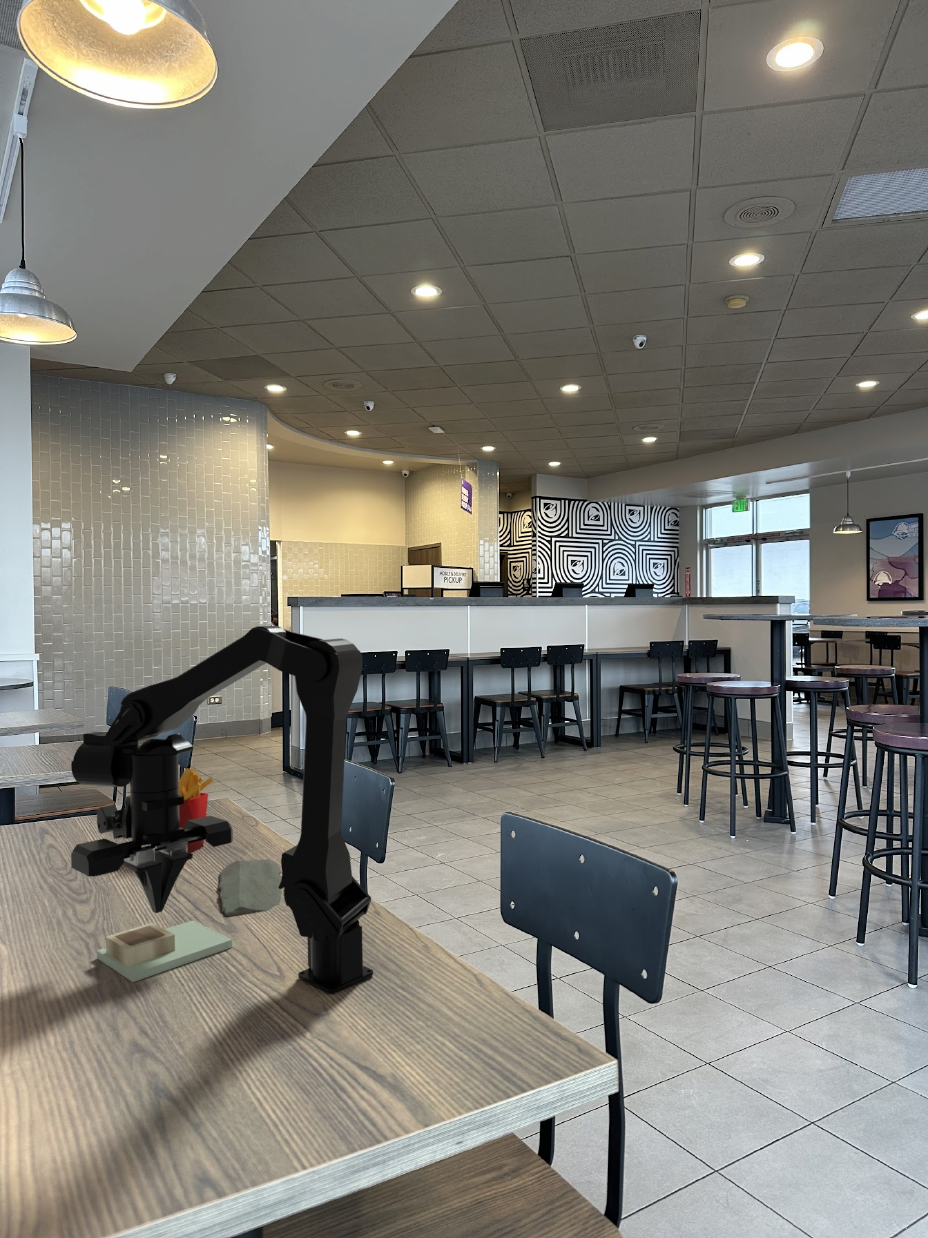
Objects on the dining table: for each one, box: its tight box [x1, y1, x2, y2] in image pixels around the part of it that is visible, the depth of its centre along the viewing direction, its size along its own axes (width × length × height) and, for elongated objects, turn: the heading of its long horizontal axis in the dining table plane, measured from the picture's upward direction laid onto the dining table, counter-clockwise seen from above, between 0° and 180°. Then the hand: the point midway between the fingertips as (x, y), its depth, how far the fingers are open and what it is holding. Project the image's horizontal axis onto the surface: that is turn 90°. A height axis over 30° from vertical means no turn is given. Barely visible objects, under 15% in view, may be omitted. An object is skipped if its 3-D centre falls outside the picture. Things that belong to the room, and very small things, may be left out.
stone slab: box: [218, 858, 283, 918], centre depth 127 cm, size 22×3×10 cm
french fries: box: [179, 767, 214, 854], centre depth 149 cm, size 9×8×15 cm
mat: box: [96, 920, 233, 983], centre depth 103 cm, size 10×13×1 cm
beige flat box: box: [105, 922, 175, 967], centre depth 101 cm, size 6×2×6 cm
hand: (157, 911), depth 102 cm, fingers closed
